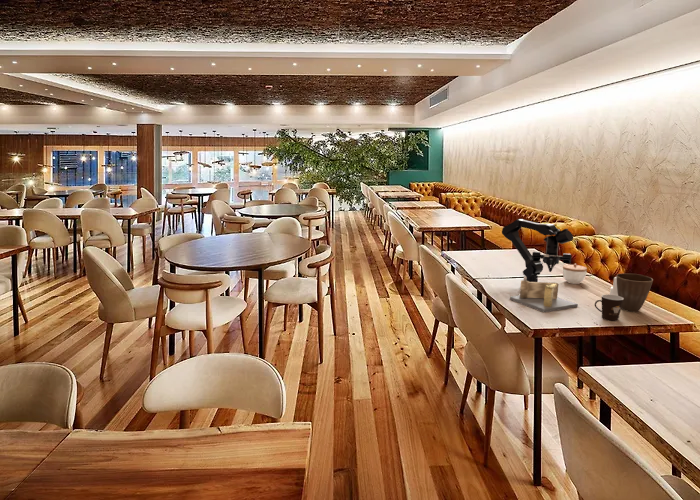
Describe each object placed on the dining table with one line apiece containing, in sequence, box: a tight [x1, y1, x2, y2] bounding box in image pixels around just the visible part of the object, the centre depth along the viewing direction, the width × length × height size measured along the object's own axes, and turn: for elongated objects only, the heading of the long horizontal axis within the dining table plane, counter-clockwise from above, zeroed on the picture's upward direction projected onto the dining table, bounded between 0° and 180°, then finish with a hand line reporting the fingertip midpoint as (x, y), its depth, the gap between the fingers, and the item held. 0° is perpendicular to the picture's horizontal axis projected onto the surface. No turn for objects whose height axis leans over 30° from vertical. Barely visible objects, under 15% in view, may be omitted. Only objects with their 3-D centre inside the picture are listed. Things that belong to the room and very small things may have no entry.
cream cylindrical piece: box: [609, 276, 618, 296], centre depth 240 cm, size 9×9×12 cm
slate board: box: [509, 294, 579, 313], centre depth 234 cm, size 22×22×2 cm
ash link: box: [519, 279, 560, 299], centre depth 237 cm, size 18×4×8 cm, turn 85°
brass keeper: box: [543, 282, 557, 307], centre depth 227 cm, size 3×8×11 cm, turn 141°
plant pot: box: [616, 273, 654, 313], centre depth 224 cm, size 15×15×16 cm
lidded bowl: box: [562, 263, 588, 285], centre depth 274 cm, size 13×13×11 cm
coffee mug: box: [594, 294, 624, 322], centre depth 212 cm, size 12×9×10 cm
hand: (550, 271), depth 244 cm, fingers closed
